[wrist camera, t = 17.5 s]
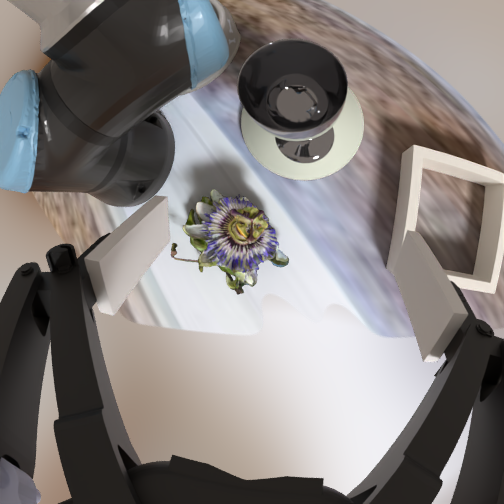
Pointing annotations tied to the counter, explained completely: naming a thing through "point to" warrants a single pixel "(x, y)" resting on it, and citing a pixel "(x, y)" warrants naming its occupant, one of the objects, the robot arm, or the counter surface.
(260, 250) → the passion flower
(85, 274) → the robot arm
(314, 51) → the wine glass
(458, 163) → the holder
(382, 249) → the counter surface
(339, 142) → the plate
